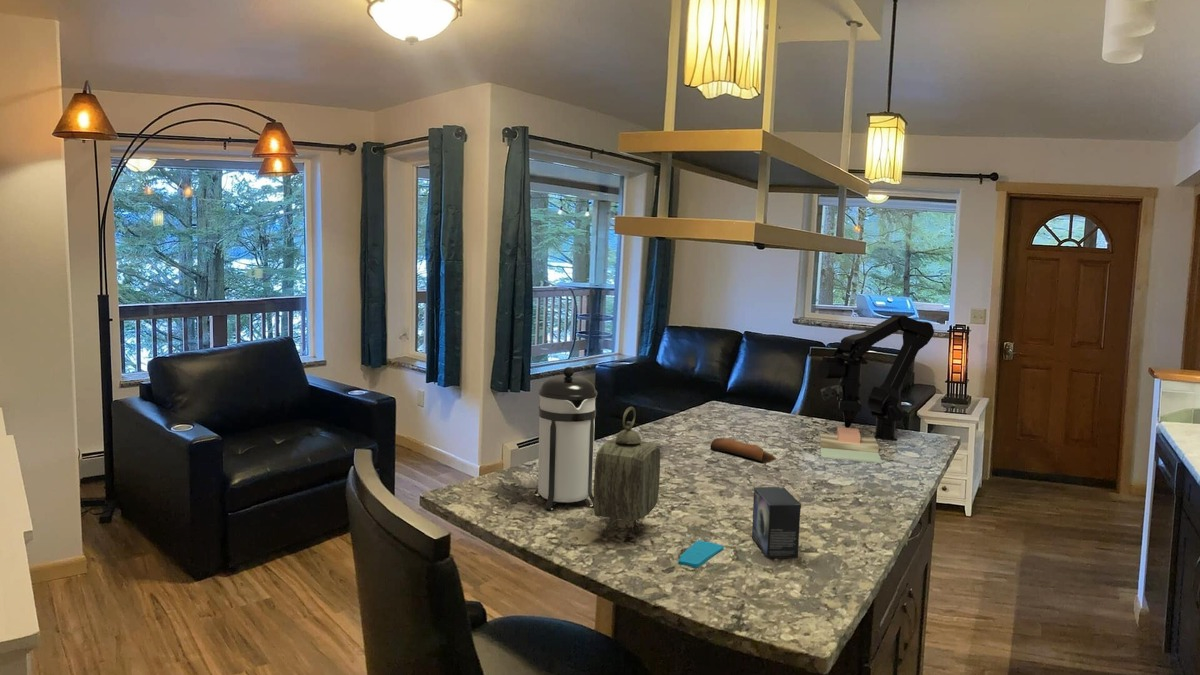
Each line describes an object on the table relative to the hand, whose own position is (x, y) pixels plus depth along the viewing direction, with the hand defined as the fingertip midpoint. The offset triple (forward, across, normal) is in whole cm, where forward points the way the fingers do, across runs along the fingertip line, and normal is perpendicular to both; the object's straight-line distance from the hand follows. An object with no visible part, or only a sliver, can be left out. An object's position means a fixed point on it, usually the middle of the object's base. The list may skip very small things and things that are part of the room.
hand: (846, 428), depth 237 cm
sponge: (+4, +107, -31) cm, 112 cm away
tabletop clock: (+4, +100, -46) cm, 110 cm away
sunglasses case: (+4, +30, -29) cm, 42 cm away
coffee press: (+4, +86, -64) cm, 108 cm away
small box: (+4, +99, -18) cm, 100 cm away
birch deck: (+4, +9, 0) cm, 10 cm away
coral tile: (+2, +8, 0) cm, 8 cm away
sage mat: (+4, +20, 0) cm, 21 cm away
